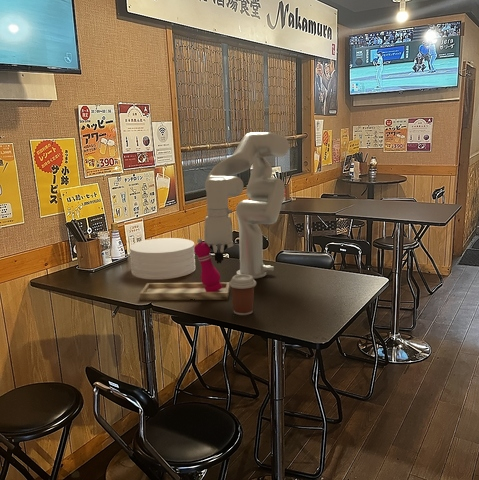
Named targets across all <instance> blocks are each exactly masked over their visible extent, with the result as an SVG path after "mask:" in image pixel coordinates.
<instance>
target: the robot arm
mask: <svg viewBox="0 0 479 480" xmlns="http://www.w3.org/2000/svg"><path fill="white" fill-rule="evenodd" d="M289 148H290V147H289V141H288V139H287V137H285V136H284V135H281V134H278V133H274V132H271V131H269V132H268V131H267V132H266V131H265V132H264V131H263V132H261V131H260V132H259V131H256V132H248V133H246V134H245V135H244V136H243V137H242V138H241V139H240V141H239V143H238V145H237V147H236V149H235V150H234V152H233V154H232V155H230V156H228V157H227V158H225V159H223V160H221V161H220V162H218V163H216V164H215V165H214V166H213V168H212V169H211V170H210V172H209V174H208V175H207V177H206V180H205V183H204V190H205V191H206V192H205V193H206V212H207V213H206V215H207V216H205V218H204V219H205V220H204V229H203V230H204V231H203V240H204V241H203V242H205V244H207V245H208V246H209V247H210V248H211V251H213V253H214V261H216V264H222V262H223V261H224V252H225V251H226V250H227V248H228V249H229V248H231V247H234V241H233V239H234V237H233V223H232V218H231V215H230V214H233V209H231V208H229V198H230V197H232V198H233V197H234V198H235V197H239V196H240V195H241V194H242V192H243V190H244V182H243V180H242V178H240V177H239V176H235V175H237V174H240V173H243V172H246V171H248V170H250V168H251V167H252V169H251V173H250V176H249V180H248V184H247V187H246V196H247V198H249V199H243V200H241V201H239V202H238V203H237V205H236V207H235V214H236V218H237V223H238V234H239V235H238V238H239V245H238V247H239V270H237V271H236V275H240V274H246V275H251V276H252V277H253V279H254V280H255V279H261V278H263V277H265V276H267V272H274V267H275V266H274V265H273V266H271V265H270V264H269V265H265V264H264V262H263V259H264V258H263V255H264V254H263V253H264V252H263V232H262V230H261V227H260V226H259V225H273V224H276V222H277V221H278V219H279V215H280V212H281V208H282V205H283V202H284V197H285V193H286V192H285V191H286V188H285V182H284V181H283V180H282V179H280V178H278V177H272V175H273V168H272V166H271V163H270V162H269V161H268V160H267V158H271V157H272V158H274V157H275V158H276V157H277V158H281V157H285V156H286V155H287V154H288V152H289ZM218 245H220V249H218Z"/></svg>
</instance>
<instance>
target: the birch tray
mask: <svg viewBox="0 0 479 480" xmlns="http://www.w3.org/2000/svg"><path fill="white" fill-rule="evenodd" d="M220 282H221V281H220ZM229 282H230V281H229ZM229 282H221V285H222V288H221V289H220V290H218V291H215V292H206V290H205V285H204V284H203V283H202V282H147V283H146V284H145V285H144V287H143V288H142V289H141V290H140V292H139V294H138V295H139V300H140V301H165V300H166V301H169V300H170V301H175V300H178V301H179V300H180V301H183V300H185V301H186V300H188V301H189V300H190V299H193V300H192V301H194V299H195V300H198V301H199V300H200V301H201V300H228V299H229V294H230V291H231V287H230V286H229ZM190 301H191V300H190Z"/></svg>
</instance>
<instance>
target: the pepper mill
mask: <svg viewBox="0 0 479 480" xmlns="http://www.w3.org/2000/svg"><path fill="white" fill-rule="evenodd" d="M211 251H212V249H211V248H210V247H209V246H208V245H207V244H205V241H203V239H202V238H198V239H197V243H196V244H195V245H194V252H195V253H194V254H195V256H197V259H198V262H200V267H201V272H200V273H201V275H200V280H201V283H203V284H204V285H205V290H206V292H215V291H218V290H220V289H221V288H222V285H221V274H220V272H219V271H218V270H217V268H216V267H215V266H214V264H213V262H212V253H211Z"/></svg>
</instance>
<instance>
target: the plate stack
mask: <svg viewBox="0 0 479 480" xmlns="http://www.w3.org/2000/svg"><path fill="white" fill-rule="evenodd" d="M194 247H195V242H194V241H193V240H191V239H187V238H177V237H161V238H159V237H158V238H150V239H144V240H140V241H137V242H134V243H132V244H131V245H130V246H129V251H130V252H129V257H130V268H131V270H130V271H131V273H130V274H131V275H133V276H134V277H136V278H139V279H144V280H168V279H175V278H181V277H183V276H188V275H189V274H192V273H193V272H195V270H196V259H195V258H196V254H195V252H194Z"/></svg>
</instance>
